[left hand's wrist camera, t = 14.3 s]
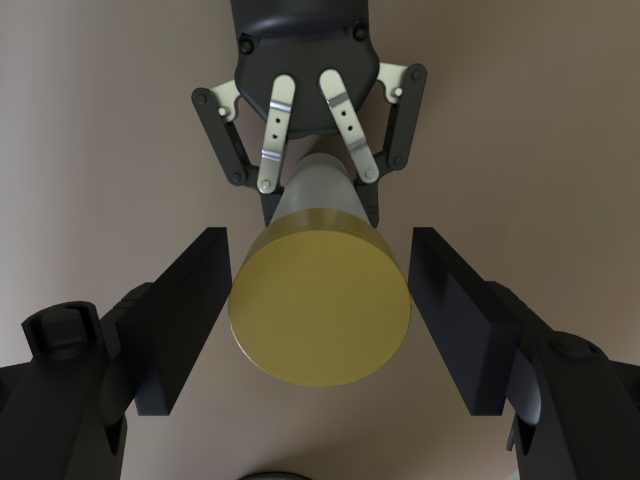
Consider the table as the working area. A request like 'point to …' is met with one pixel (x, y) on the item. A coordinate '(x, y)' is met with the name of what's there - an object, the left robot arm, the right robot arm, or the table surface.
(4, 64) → the table surface
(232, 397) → the table surface
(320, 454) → the table surface
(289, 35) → the right robot arm
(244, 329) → the lid
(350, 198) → the white cylinder
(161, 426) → the table surface
